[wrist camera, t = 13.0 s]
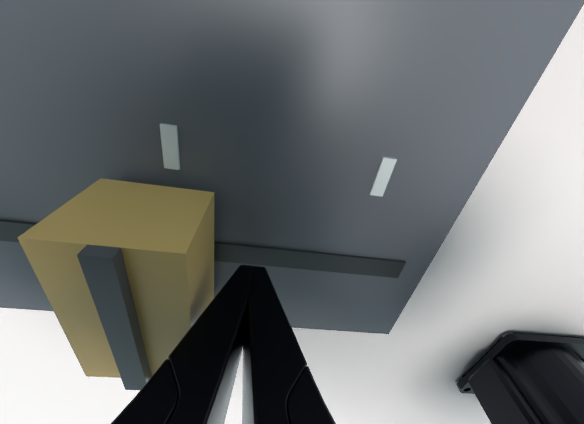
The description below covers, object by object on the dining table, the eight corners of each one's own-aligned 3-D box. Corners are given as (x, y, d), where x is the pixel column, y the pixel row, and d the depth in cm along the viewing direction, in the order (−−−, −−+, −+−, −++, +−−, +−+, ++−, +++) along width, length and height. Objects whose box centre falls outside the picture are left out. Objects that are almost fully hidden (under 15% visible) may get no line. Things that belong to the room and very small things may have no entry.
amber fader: (214, 192, 7) (180, 264, 5) (214, 307, 10) (191, 392, 7) (100, 178, 7) (2, 248, 5) (131, 301, 10) (79, 387, 7)
